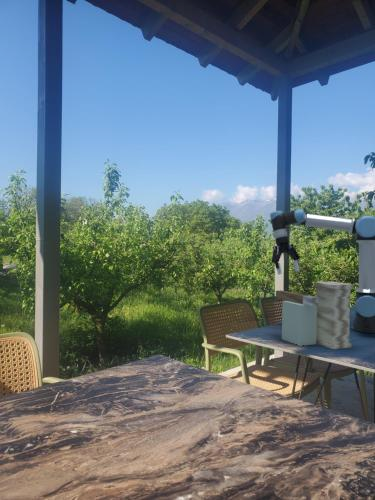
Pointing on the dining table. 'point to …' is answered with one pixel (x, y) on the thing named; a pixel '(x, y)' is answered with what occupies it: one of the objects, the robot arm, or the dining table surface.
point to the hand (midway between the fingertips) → (288, 272)
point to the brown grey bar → (297, 298)
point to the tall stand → (333, 314)
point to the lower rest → (299, 323)
